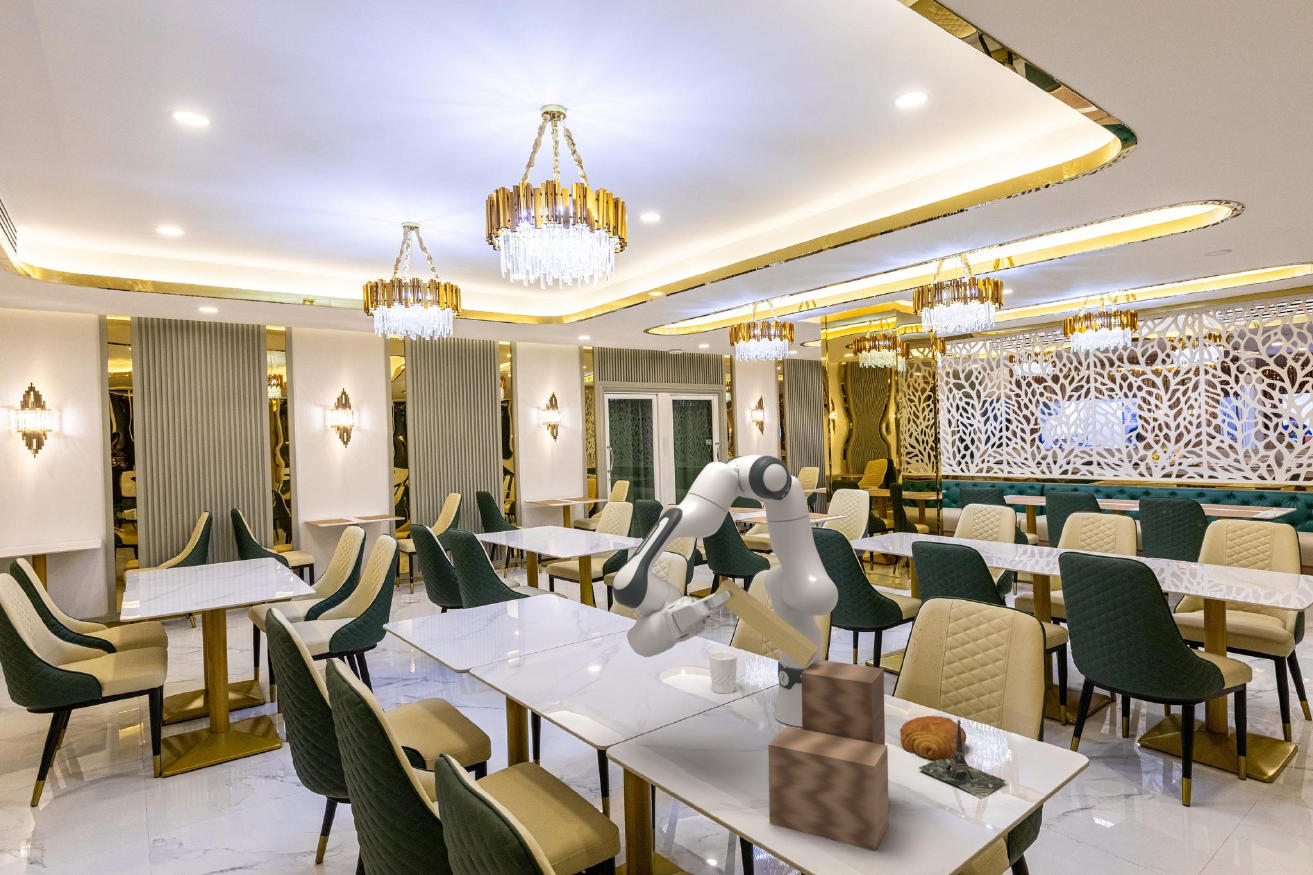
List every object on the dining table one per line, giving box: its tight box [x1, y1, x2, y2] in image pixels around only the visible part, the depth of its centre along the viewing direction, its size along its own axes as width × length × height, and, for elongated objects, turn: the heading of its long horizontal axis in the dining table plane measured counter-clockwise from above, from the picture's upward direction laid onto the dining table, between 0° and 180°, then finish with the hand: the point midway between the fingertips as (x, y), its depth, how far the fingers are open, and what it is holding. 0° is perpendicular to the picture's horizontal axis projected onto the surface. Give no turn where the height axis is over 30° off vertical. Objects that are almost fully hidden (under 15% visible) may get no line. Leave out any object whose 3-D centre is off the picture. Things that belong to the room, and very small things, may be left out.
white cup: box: [709, 651, 738, 695], centre depth 215 cm, size 8×8×10 cm
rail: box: [713, 578, 819, 668], centre depth 158 cm, size 24×4×4 cm
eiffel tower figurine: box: [918, 719, 1007, 800], centre depth 158 cm, size 15×10×13 cm
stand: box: [767, 659, 890, 852], centre depth 145 cm, size 20×21×26 cm
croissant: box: [899, 715, 967, 761], centre depth 174 cm, size 14×16×8 cm
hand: (735, 591), depth 161 cm, fingers closed on rail, 4 cm apart
